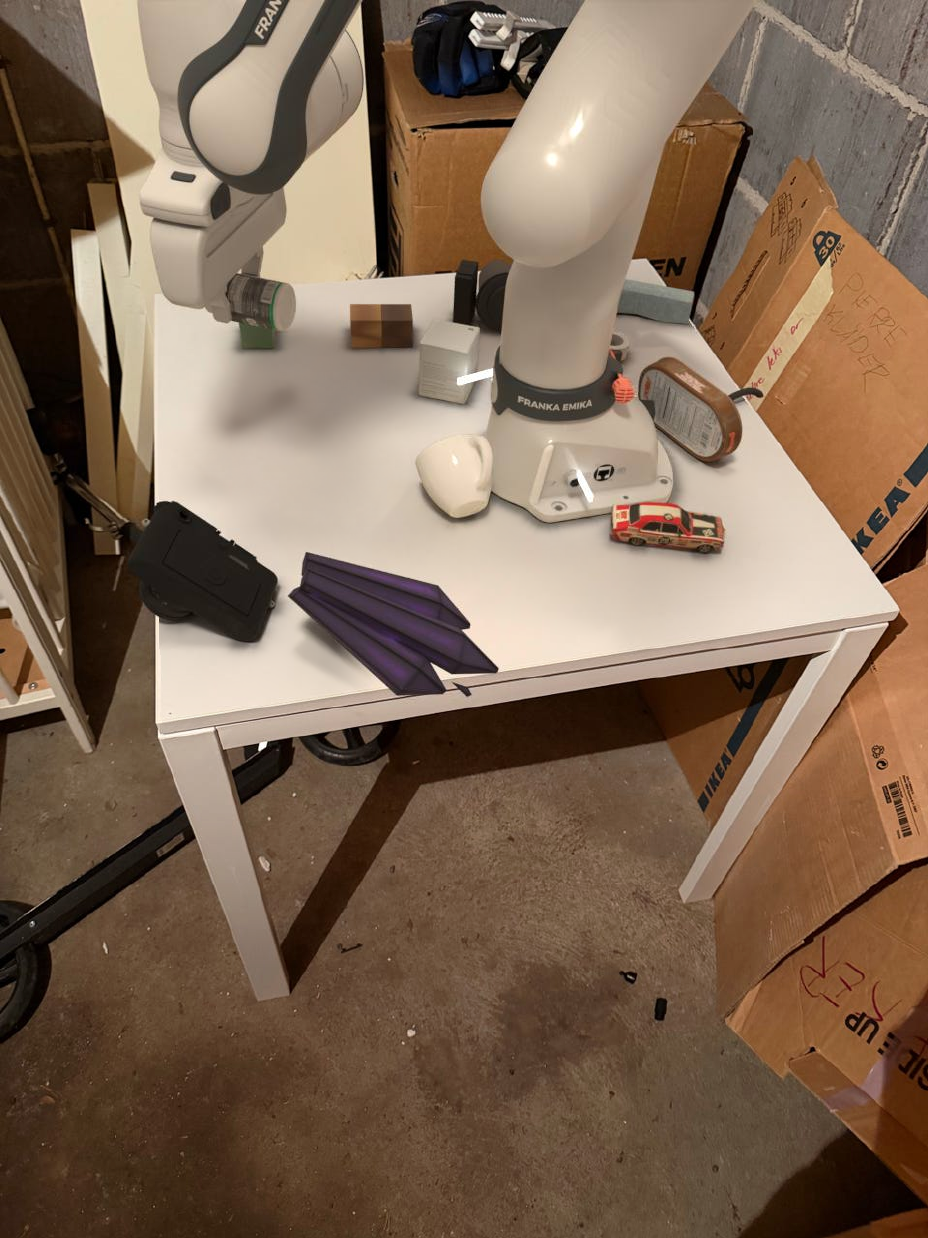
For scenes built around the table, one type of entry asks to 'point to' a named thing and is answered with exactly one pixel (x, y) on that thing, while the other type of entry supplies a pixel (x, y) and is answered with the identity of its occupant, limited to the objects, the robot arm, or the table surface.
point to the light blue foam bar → (656, 301)
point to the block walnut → (397, 326)
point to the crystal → (390, 624)
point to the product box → (448, 360)
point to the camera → (200, 573)
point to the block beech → (366, 325)
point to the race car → (666, 526)
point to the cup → (457, 473)
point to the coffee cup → (492, 293)
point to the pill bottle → (261, 302)
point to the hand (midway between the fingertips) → (238, 304)
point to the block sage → (256, 336)
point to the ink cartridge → (465, 292)
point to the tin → (691, 409)
